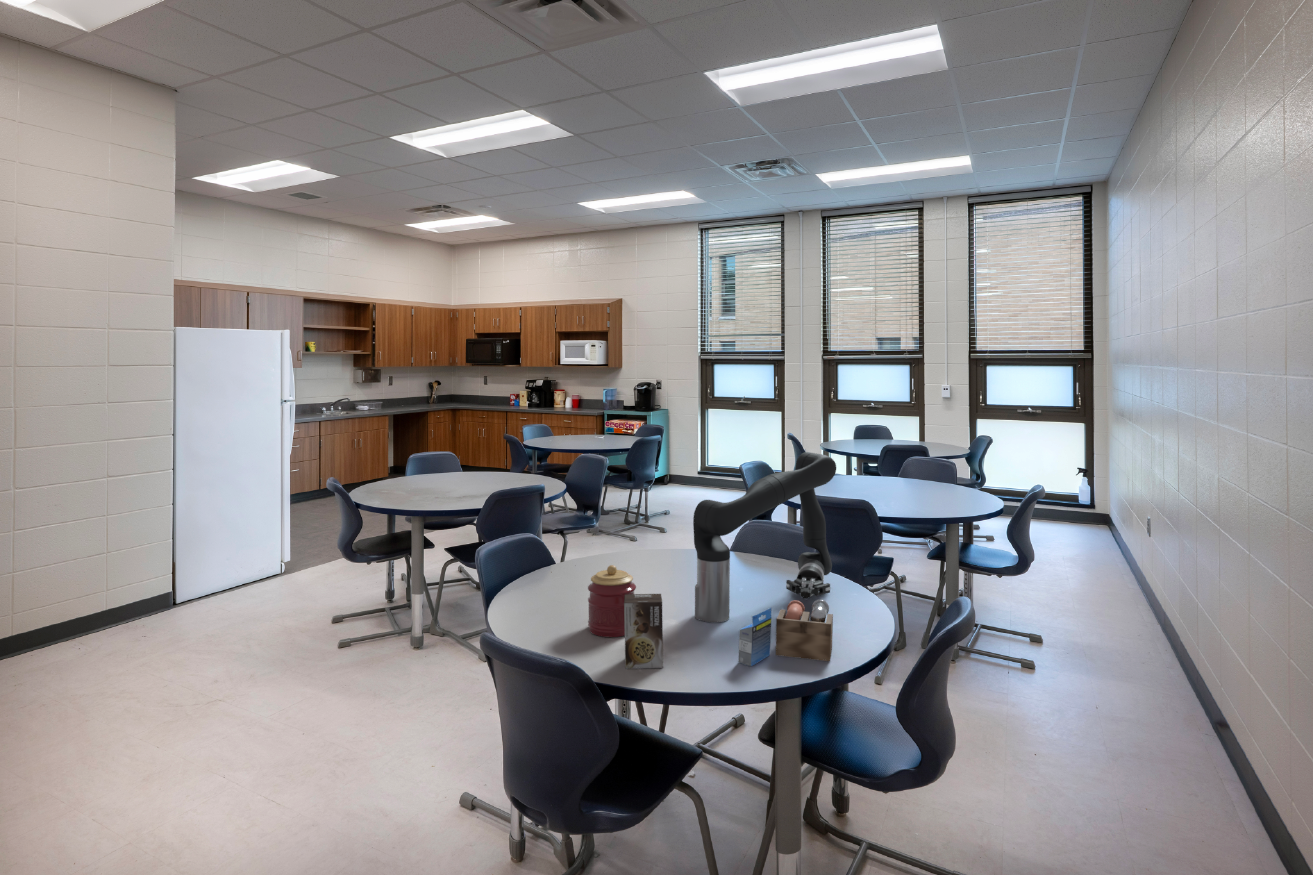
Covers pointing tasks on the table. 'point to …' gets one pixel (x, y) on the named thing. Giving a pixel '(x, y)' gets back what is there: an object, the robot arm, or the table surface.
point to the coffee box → (643, 631)
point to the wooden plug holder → (804, 637)
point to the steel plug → (819, 611)
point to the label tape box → (755, 639)
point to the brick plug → (795, 610)
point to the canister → (609, 602)
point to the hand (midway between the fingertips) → (805, 595)
